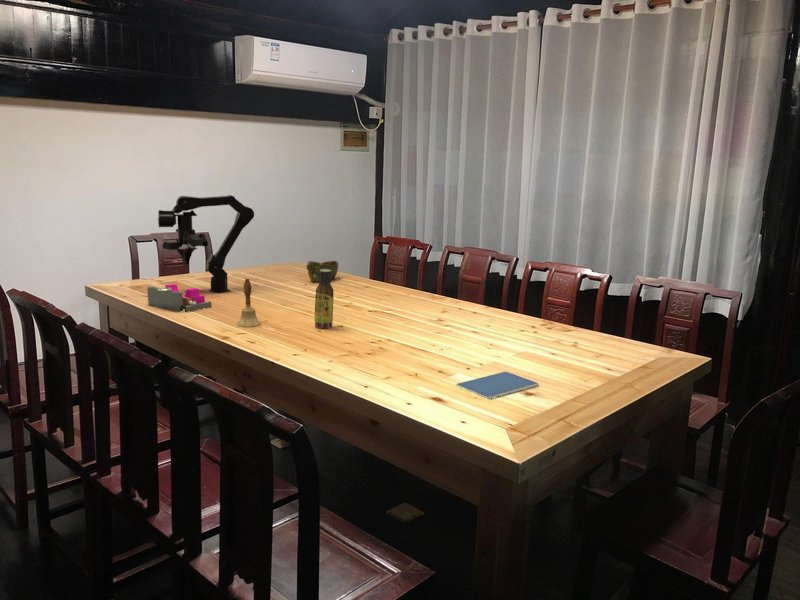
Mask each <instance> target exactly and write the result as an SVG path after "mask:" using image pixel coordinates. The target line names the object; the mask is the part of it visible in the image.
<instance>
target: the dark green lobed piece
mask: <svg viewBox="0 0 800 600" xmlns="http://www.w3.org/2000/svg"><path fill="white" fill-rule="evenodd" d="M322 269H327V270H331V279H330V281H331V282H332V281H334V280H335V278H336V276H337V274H338V271H339V270H338V269H339V261H337V260H329V261H323V262H318V261H311V260H310V261H308V262H307V264H306V270H307V273H308V274H307V275H308V277H309V279H310V281H311V282H312V283H316V284H319V281H320V275H319V271H320V270H322Z"/></svg>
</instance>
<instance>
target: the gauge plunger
mask: <svg viewBox="0 0 800 600" xmlns="http://www.w3.org/2000/svg"><path fill="white" fill-rule="evenodd" d="M182 297H183V307H185V306H189V305H191V304H193V305H194V304H196V302H194V298H192V301H191V298H188V297H184V296H182Z"/></svg>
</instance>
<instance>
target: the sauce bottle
mask: <svg viewBox="0 0 800 600" xmlns="http://www.w3.org/2000/svg"><path fill="white" fill-rule="evenodd" d="M319 275H320V281H319V283H318V285H317V287H316V289H315V296H314V298H315V299H314V302H315V303H314V326H315V327H316V328H318V329H329V328H330V327H331V328H332V327H333V320H334V291H335V290H334V288H333V286H332V284H331V282H332V281H330V279H331V270H327V269H322V270H320V271H319ZM331 328H330V329H331Z"/></svg>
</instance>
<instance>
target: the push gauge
mask: <svg viewBox="0 0 800 600" xmlns="http://www.w3.org/2000/svg"><path fill="white" fill-rule="evenodd" d="M171 290H172V288H168V287H164V286H163V287H156V286H147V305H148V306H151V307H155V308H159V309H162V308H163V310H168V311H170V312H171V311H172V312H176V313H182V312H181V311H183V312H185V313H189V312H188V311H190V312H194V311H193V310H195V311H199V310H198V309H200V310H203V308H205V309H208V307H209V308H212V301H209V300H208V301H205V302H204V303H198V304H194V305H193V304H192V305H189V306H185V308H183V297H182V295H183V292H180V291H179V292H176V291H171Z"/></svg>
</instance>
